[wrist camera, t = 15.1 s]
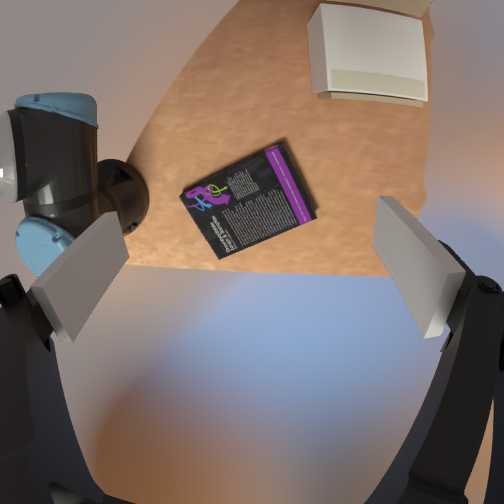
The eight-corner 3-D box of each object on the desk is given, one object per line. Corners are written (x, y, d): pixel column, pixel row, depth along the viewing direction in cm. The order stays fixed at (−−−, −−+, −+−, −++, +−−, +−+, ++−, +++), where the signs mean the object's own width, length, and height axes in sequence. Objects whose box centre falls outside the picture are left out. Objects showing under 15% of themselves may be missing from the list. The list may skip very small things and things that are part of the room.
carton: (312, 98, 40) (328, 98, 30) (306, 25, 34) (320, 3, 23) (392, 103, 39) (427, 108, 29) (387, 34, 33) (421, 20, 22)
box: (282, 140, 45) (181, 190, 49) (284, 143, 42) (176, 196, 46) (314, 211, 51) (219, 252, 55) (318, 218, 48) (217, 262, 52)
